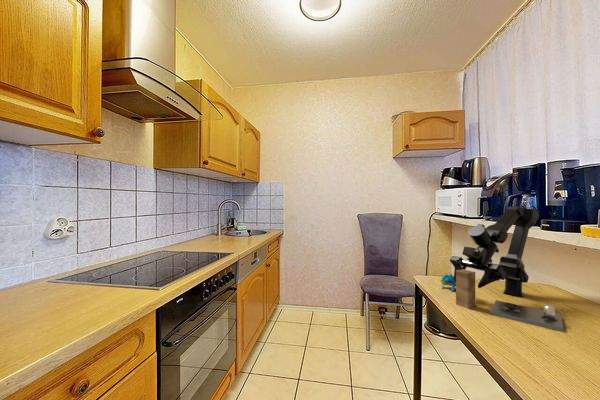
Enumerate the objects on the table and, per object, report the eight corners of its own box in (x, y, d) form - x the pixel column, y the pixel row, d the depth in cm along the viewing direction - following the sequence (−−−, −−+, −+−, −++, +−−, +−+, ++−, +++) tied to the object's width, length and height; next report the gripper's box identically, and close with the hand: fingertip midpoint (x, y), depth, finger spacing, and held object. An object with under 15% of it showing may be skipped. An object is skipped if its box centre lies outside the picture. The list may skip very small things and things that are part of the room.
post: (463, 302, 101) (463, 269, 101) (475, 306, 97) (475, 272, 97) (455, 304, 99) (455, 270, 100) (467, 308, 95) (467, 273, 95)
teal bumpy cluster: (472, 287, 114) (462, 273, 111) (469, 299, 111) (459, 285, 108) (446, 284, 123) (436, 271, 120) (443, 295, 120) (433, 282, 117)
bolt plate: (495, 303, 101) (495, 289, 101) (561, 317, 88) (561, 302, 88) (490, 314, 90) (490, 299, 91) (563, 331, 78) (563, 314, 78)
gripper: (452, 236, 109) (434, 264, 105) (501, 242, 92) (482, 276, 88) (464, 254, 113) (447, 282, 108) (514, 263, 96) (496, 296, 91)
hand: (466, 283), depth 98 cm, fingers open, 9 cm apart
